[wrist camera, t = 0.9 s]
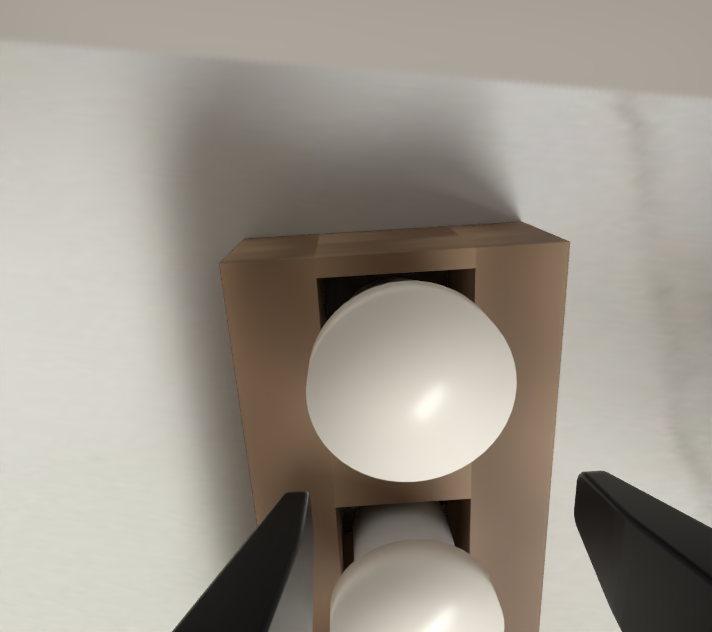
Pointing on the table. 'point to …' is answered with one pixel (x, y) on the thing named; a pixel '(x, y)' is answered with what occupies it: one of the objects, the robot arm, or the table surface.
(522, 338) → the knob mount
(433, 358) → the knob
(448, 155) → the table surface
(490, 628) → the knob middle
